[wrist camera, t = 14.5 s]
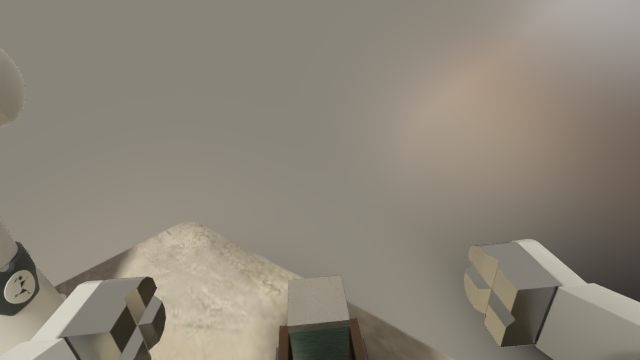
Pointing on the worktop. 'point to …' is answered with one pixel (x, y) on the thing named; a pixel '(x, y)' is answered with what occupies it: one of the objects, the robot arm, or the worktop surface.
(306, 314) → the tea tin
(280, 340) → the open wooden box
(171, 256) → the worktop surface
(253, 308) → the worktop surface
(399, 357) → the worktop surface
